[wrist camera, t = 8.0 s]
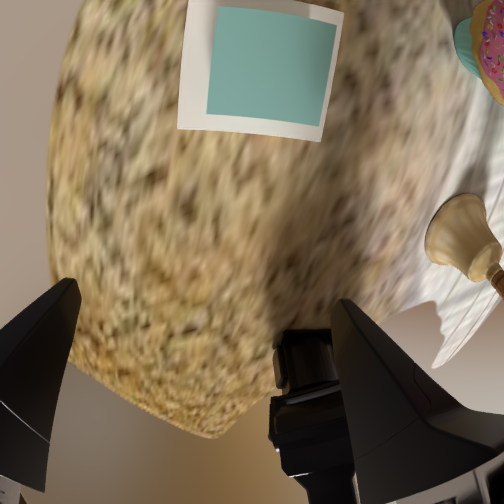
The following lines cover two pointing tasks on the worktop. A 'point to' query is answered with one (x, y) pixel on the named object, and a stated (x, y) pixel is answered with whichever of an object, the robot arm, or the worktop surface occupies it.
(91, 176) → the worktop surface
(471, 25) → the cupcake
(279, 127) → the tile
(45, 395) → the robot arm
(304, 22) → the cube
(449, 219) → the hand bell
